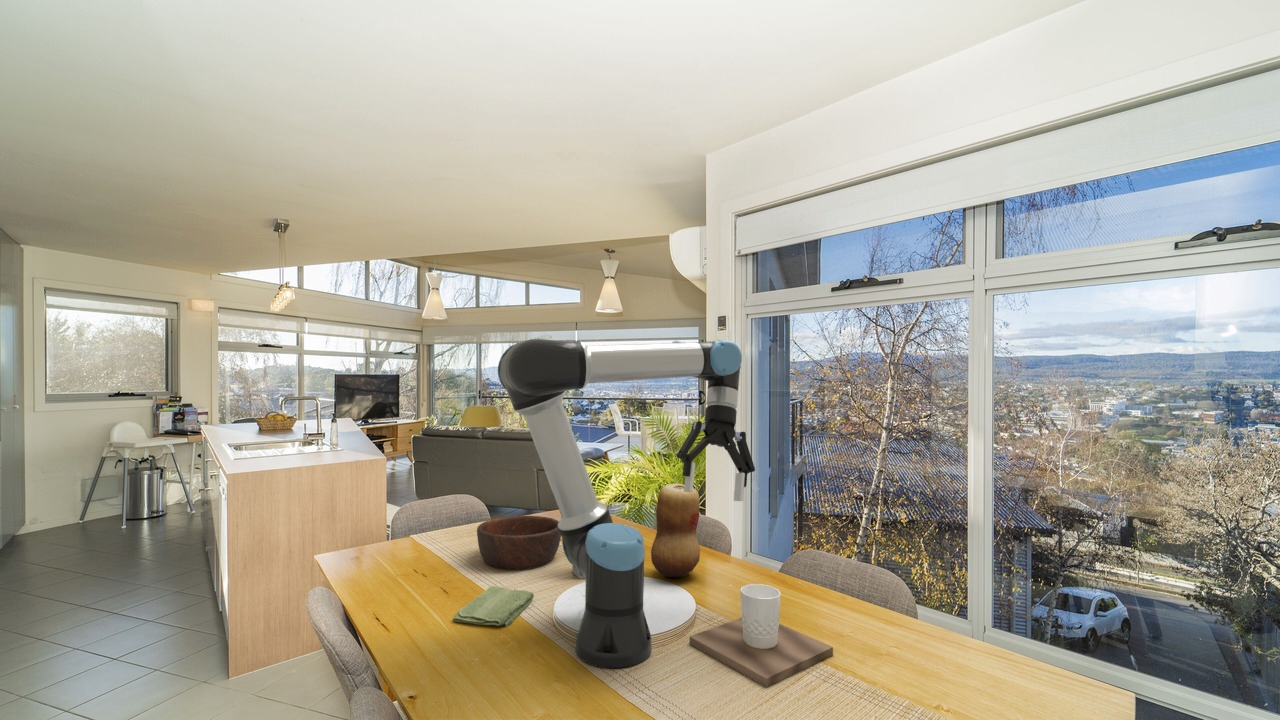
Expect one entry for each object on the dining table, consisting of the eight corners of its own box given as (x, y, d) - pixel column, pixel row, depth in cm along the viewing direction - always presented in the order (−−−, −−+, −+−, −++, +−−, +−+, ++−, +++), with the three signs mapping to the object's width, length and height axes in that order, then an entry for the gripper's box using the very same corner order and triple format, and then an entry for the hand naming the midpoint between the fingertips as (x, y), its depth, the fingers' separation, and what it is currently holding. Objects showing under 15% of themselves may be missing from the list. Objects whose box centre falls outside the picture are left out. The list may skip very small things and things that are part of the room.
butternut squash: (685, 588, 143) (686, 491, 144) (641, 578, 150) (643, 486, 151) (708, 573, 155) (708, 484, 156) (666, 564, 162) (667, 479, 163)
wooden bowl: (553, 574, 153) (554, 537, 153) (464, 573, 153) (465, 535, 153) (566, 548, 178) (567, 515, 178) (489, 546, 178) (490, 514, 178)
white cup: (781, 652, 106) (781, 600, 107) (739, 648, 108) (740, 596, 108) (779, 634, 114) (779, 585, 114) (740, 630, 115) (740, 582, 116)
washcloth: (449, 625, 121) (450, 610, 121) (489, 595, 138) (489, 582, 138) (504, 632, 118) (504, 617, 118) (538, 601, 135) (538, 588, 135)
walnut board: (766, 687, 97) (766, 678, 97) (689, 643, 113) (689, 636, 113) (833, 654, 109) (832, 647, 109) (754, 619, 125) (754, 612, 125)
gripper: (754, 420, 142) (748, 504, 135) (669, 399, 133) (658, 488, 126) (772, 416, 135) (767, 504, 129) (684, 393, 126) (673, 487, 120)
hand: (713, 496), depth 127 cm, fingers open, 13 cm apart
